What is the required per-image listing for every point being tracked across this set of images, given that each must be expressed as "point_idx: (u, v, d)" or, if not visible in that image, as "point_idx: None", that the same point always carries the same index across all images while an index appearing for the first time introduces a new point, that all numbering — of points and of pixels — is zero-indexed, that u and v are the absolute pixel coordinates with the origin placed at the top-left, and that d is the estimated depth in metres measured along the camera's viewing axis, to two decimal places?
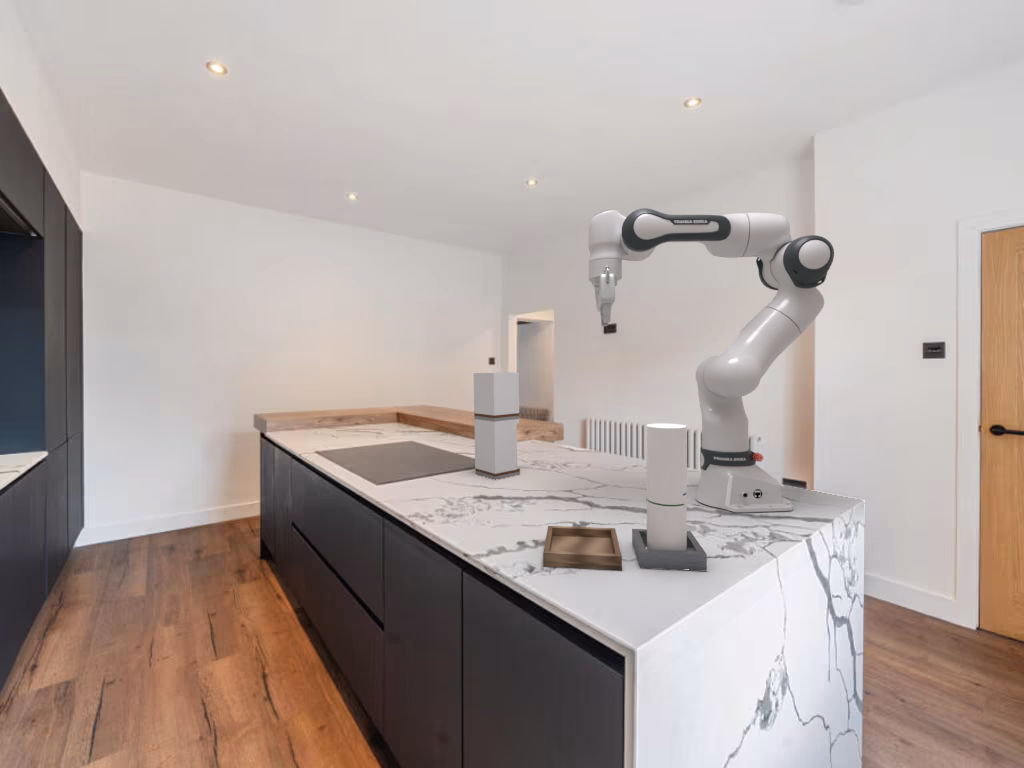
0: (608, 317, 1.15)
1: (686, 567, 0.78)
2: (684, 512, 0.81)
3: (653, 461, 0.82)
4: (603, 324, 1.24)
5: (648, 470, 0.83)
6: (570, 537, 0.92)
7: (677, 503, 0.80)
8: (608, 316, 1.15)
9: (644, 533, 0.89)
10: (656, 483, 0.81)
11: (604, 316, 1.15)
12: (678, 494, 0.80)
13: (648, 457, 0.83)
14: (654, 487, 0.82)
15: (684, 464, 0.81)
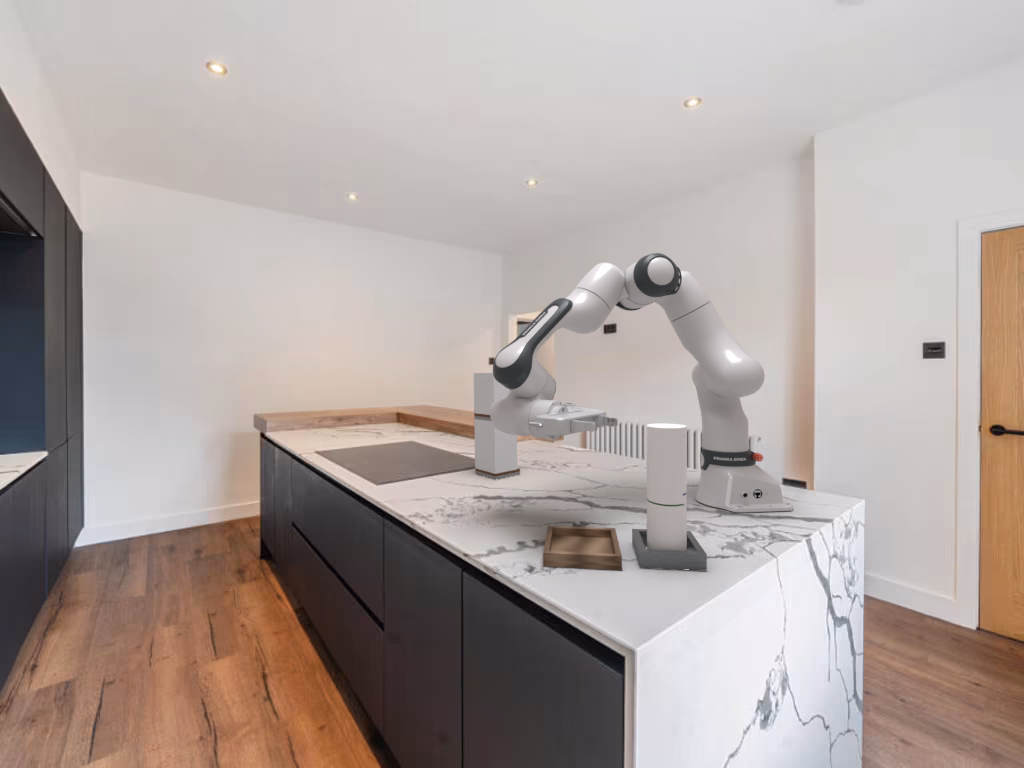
0: (588, 424, 0.88)
1: (686, 567, 0.78)
2: (684, 512, 0.81)
3: (653, 461, 0.82)
4: (613, 424, 0.94)
5: (648, 470, 0.83)
6: (570, 537, 0.92)
7: (677, 503, 0.80)
8: (587, 424, 0.88)
9: (644, 533, 0.89)
10: (656, 483, 0.81)
11: (587, 429, 0.88)
12: (678, 494, 0.80)
13: (648, 457, 0.83)
14: (654, 487, 0.82)
15: (684, 464, 0.81)
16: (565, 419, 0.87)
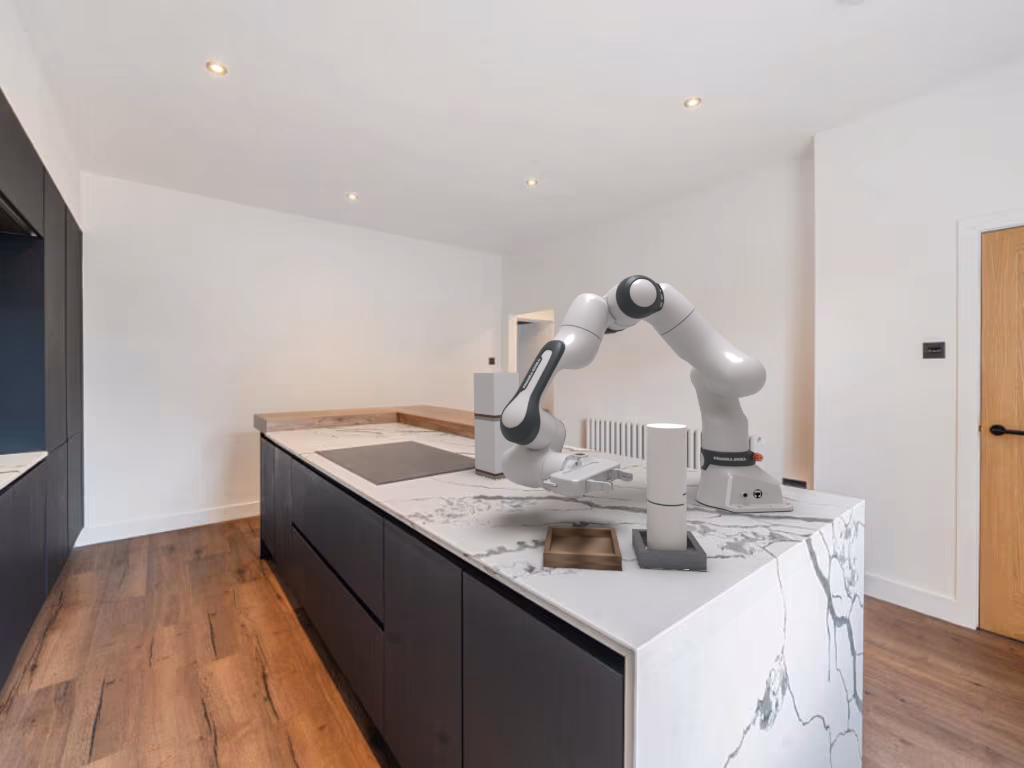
0: (604, 485, 0.86)
1: (686, 567, 0.78)
2: (684, 512, 0.81)
3: (653, 461, 0.82)
4: (628, 479, 0.93)
5: (648, 470, 0.83)
6: (570, 537, 0.92)
7: (677, 503, 0.80)
8: (603, 485, 0.86)
9: (644, 533, 0.89)
10: (656, 483, 0.81)
11: (603, 490, 0.86)
12: (678, 494, 0.80)
13: (648, 457, 0.83)
14: (654, 487, 0.82)
15: (684, 464, 0.81)
16: (580, 480, 0.86)
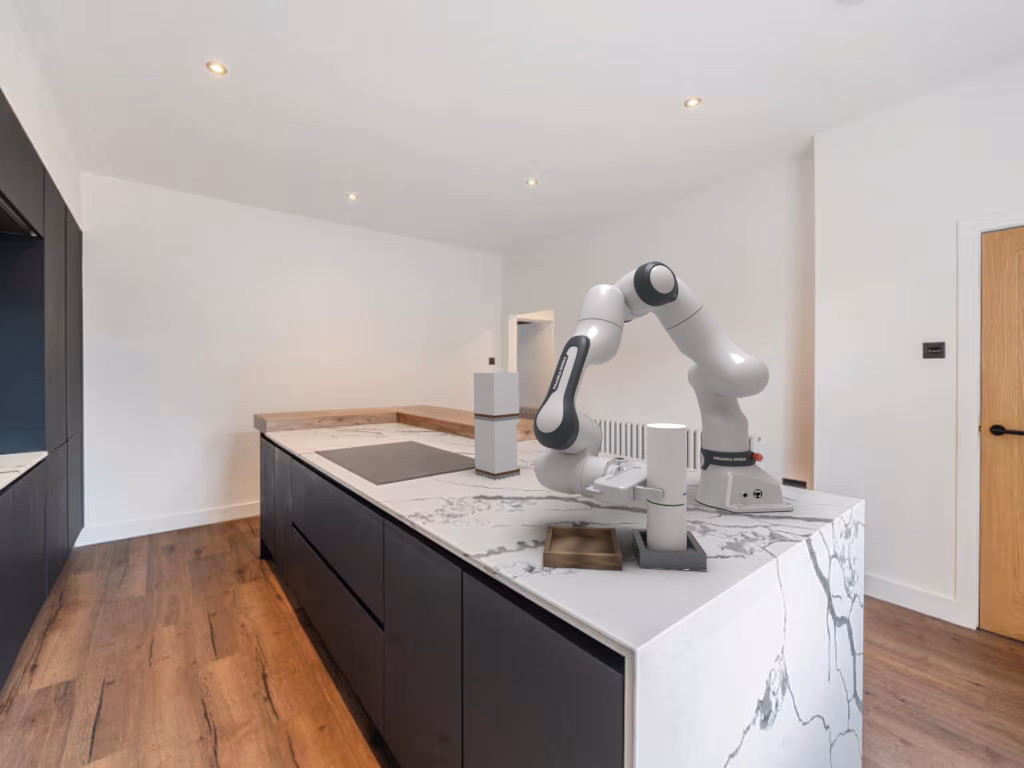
0: (655, 492, 0.80)
1: (686, 567, 0.78)
2: (684, 512, 0.81)
3: (653, 461, 0.82)
4: None
5: (648, 470, 0.83)
6: (570, 537, 0.92)
7: (677, 503, 0.80)
8: (653, 492, 0.80)
9: (644, 533, 0.89)
10: (656, 483, 0.81)
11: (653, 497, 0.80)
12: (678, 494, 0.80)
13: (648, 457, 0.83)
14: (654, 487, 0.82)
15: (684, 464, 0.81)
16: (628, 487, 0.80)
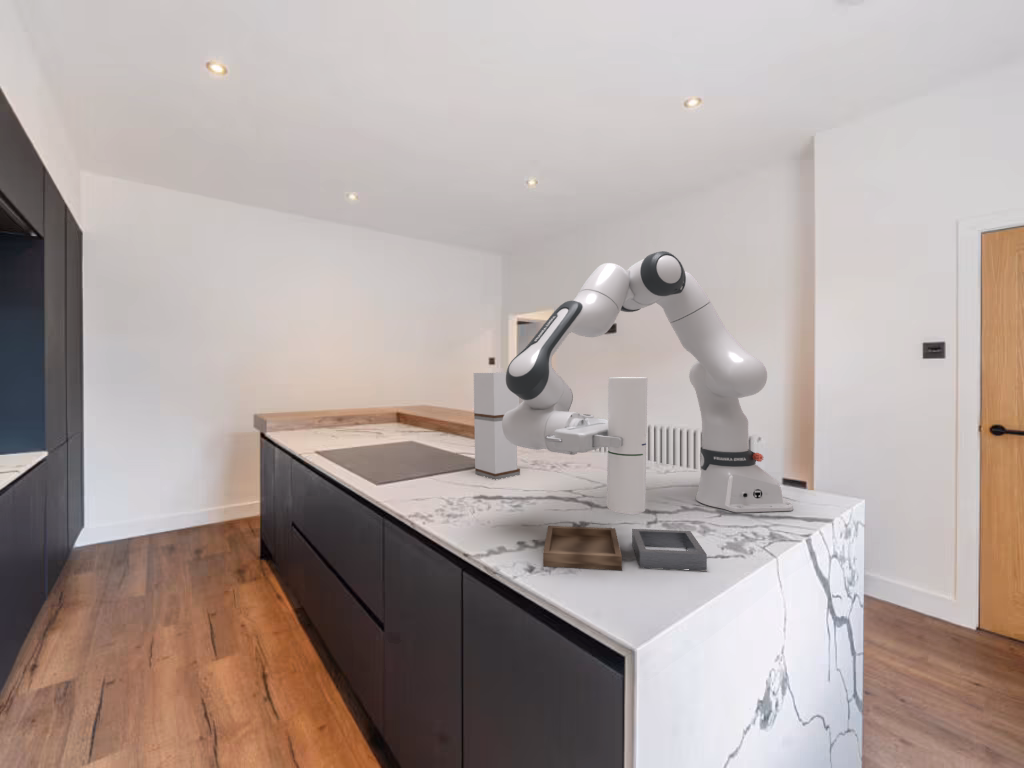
0: (613, 440, 0.81)
1: (686, 567, 0.78)
2: (643, 462, 0.82)
3: (613, 411, 0.82)
4: None
5: (609, 421, 0.84)
6: (570, 537, 0.92)
7: (636, 453, 0.81)
8: (612, 439, 0.81)
9: (644, 533, 0.89)
10: (615, 433, 0.82)
11: (612, 445, 0.81)
12: (637, 444, 0.81)
13: (609, 408, 0.84)
14: None
15: (644, 414, 0.82)
16: (587, 434, 0.80)
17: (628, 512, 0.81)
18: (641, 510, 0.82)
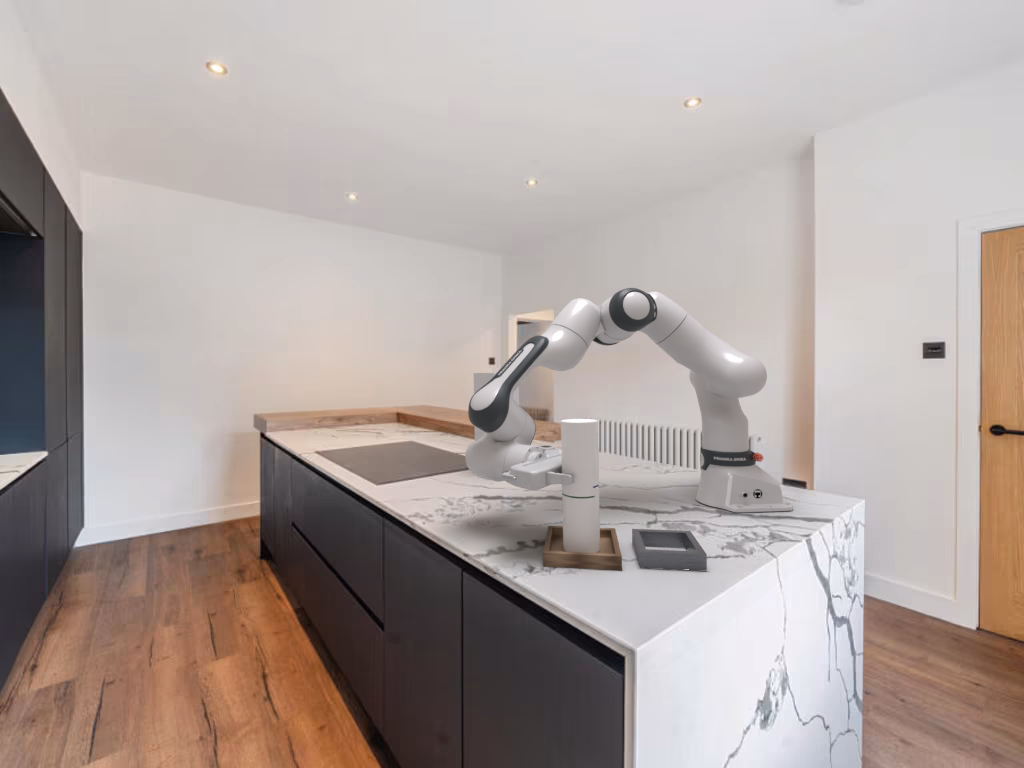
0: (564, 477, 0.82)
1: (686, 567, 0.78)
2: (595, 504, 0.84)
3: (565, 455, 0.84)
4: None
5: (562, 464, 0.86)
6: None
7: (587, 495, 0.83)
8: (563, 477, 0.82)
9: (644, 533, 0.89)
10: None
11: (563, 482, 0.82)
12: (588, 486, 0.83)
13: (562, 451, 0.86)
14: None
15: (594, 457, 0.84)
16: (540, 472, 0.82)
17: None
18: (595, 551, 0.84)
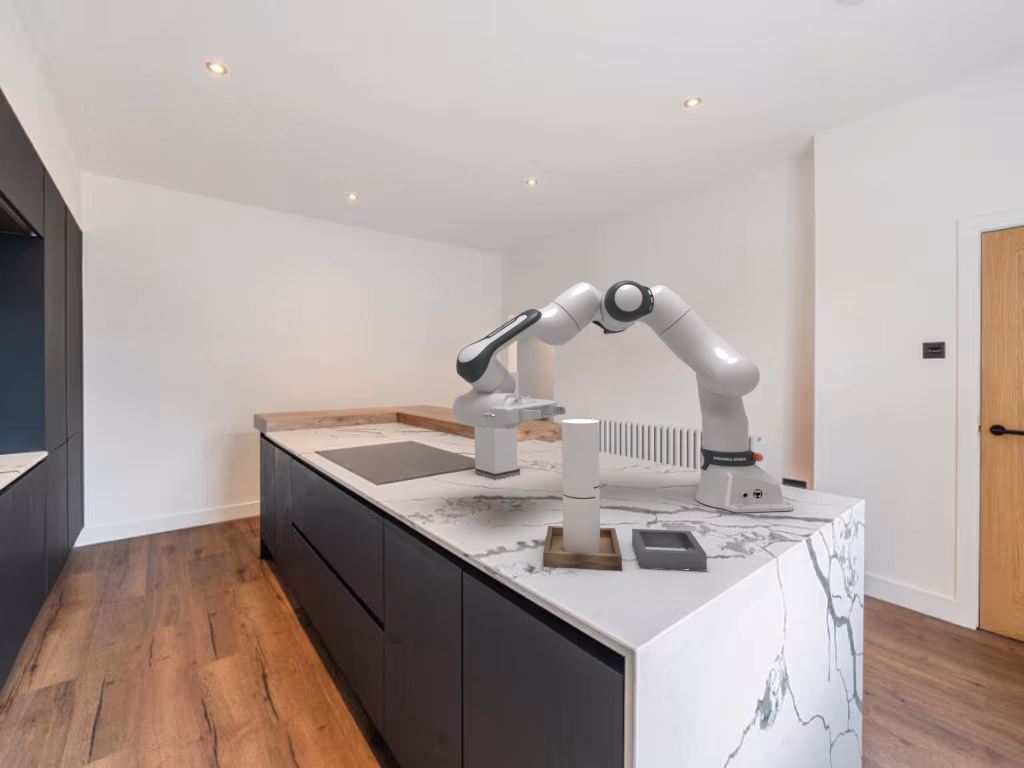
0: (535, 413, 0.97)
1: (686, 567, 0.78)
2: (595, 505, 0.84)
3: (566, 455, 0.84)
4: (561, 412, 1.04)
5: (562, 464, 0.86)
6: None
7: (588, 496, 0.83)
8: (534, 413, 0.97)
9: (644, 533, 0.89)
10: (568, 476, 0.84)
11: (534, 417, 0.97)
12: (588, 487, 0.83)
13: (562, 451, 0.86)
14: (567, 480, 0.84)
15: (595, 458, 0.83)
16: (514, 409, 0.97)
17: None
18: (595, 551, 0.84)
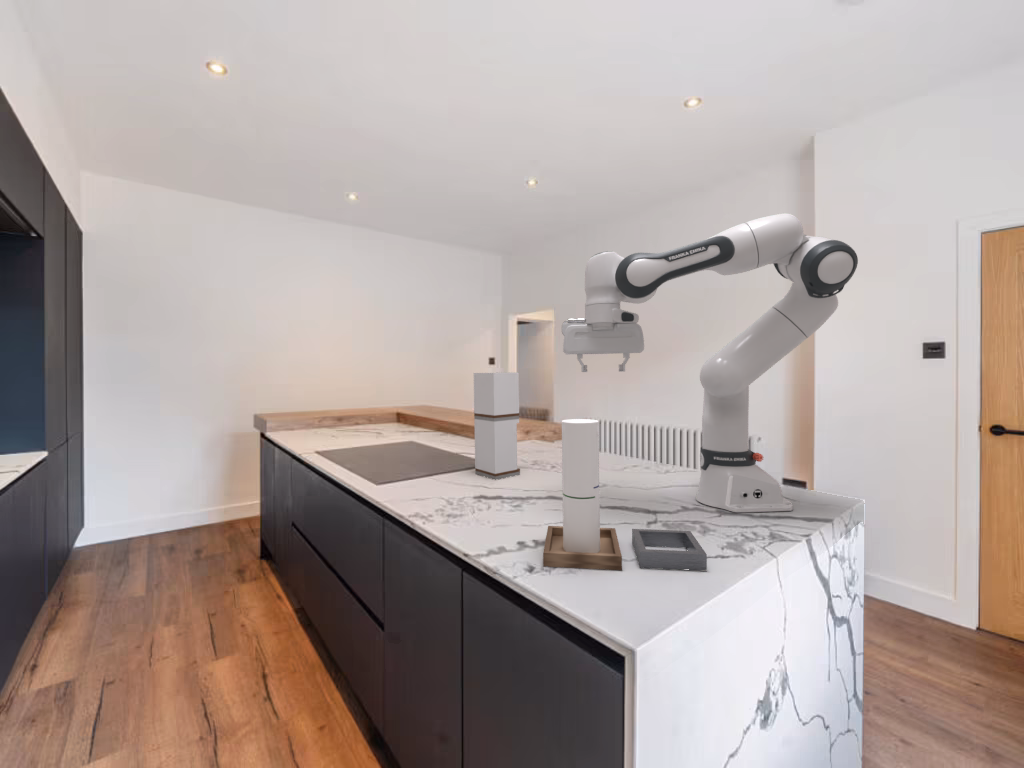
0: (581, 367, 1.14)
1: (686, 567, 0.78)
2: (595, 505, 0.84)
3: (566, 455, 0.84)
4: None
5: (562, 464, 0.86)
6: None
7: (587, 496, 0.83)
8: (581, 366, 1.14)
9: (644, 533, 0.89)
10: (568, 476, 0.84)
11: (581, 366, 1.15)
12: (588, 487, 0.83)
13: (562, 451, 0.86)
14: (567, 480, 0.84)
15: (595, 458, 0.84)
16: (569, 353, 1.13)
17: None
18: (595, 551, 0.84)
